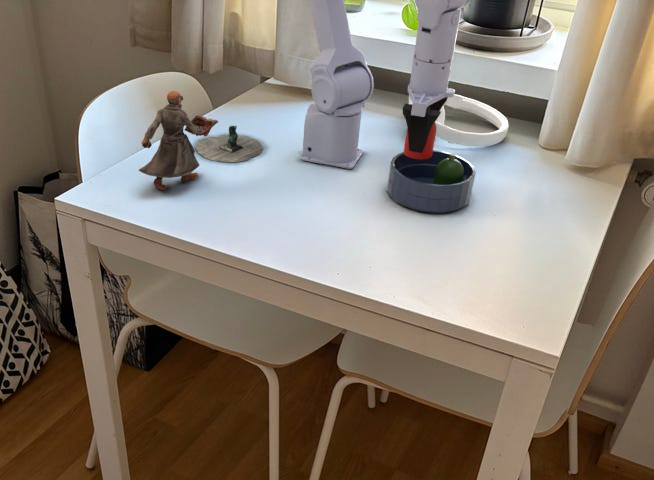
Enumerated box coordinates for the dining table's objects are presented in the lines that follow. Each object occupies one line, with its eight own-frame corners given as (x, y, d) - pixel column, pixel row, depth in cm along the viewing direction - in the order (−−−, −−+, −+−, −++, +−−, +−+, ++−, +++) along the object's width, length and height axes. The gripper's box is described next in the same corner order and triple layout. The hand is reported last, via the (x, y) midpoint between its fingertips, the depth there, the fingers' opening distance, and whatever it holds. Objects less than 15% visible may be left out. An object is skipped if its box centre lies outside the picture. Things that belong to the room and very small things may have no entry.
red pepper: (397, 151, 120) (403, 107, 116) (418, 145, 123) (424, 102, 118) (417, 161, 118) (424, 117, 113) (438, 155, 120) (445, 112, 115)
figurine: (216, 171, 127) (214, 82, 118) (228, 190, 122) (228, 99, 112) (134, 180, 123) (125, 89, 114) (143, 200, 118) (135, 106, 108)
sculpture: (266, 139, 139) (265, 118, 131) (258, 185, 138) (256, 167, 130) (203, 129, 140) (198, 108, 132) (194, 175, 138) (189, 156, 130)
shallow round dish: (378, 205, 120) (382, 176, 117) (396, 171, 130) (400, 144, 127) (463, 221, 117) (469, 192, 114) (474, 185, 127) (480, 157, 124)
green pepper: (446, 204, 120) (454, 163, 116) (425, 193, 123) (432, 153, 118) (464, 196, 123) (473, 156, 118) (443, 186, 125) (450, 146, 121)
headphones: (398, 140, 140) (503, 164, 138) (408, 99, 134) (518, 123, 133) (406, 104, 155) (501, 125, 153) (416, 65, 149) (514, 87, 148)
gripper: (452, 76, 104) (436, 167, 113) (466, 47, 115) (450, 132, 124) (403, 69, 106) (390, 159, 114) (421, 41, 117) (409, 125, 125)
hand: (418, 145), depth 119 cm, fingers closed on red pepper, 4 cm apart
